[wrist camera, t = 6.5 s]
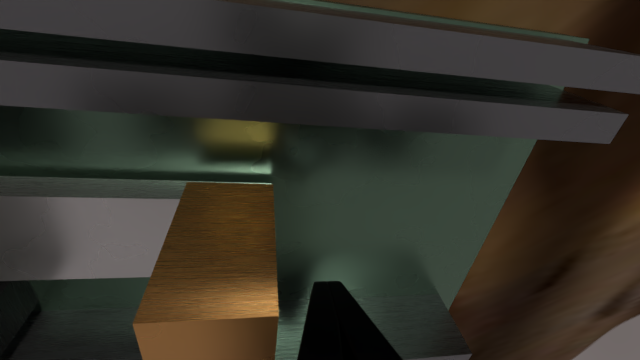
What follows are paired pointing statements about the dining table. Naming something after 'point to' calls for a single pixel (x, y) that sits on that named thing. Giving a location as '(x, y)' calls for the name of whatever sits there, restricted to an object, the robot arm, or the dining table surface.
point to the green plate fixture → (291, 144)
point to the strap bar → (156, 255)
